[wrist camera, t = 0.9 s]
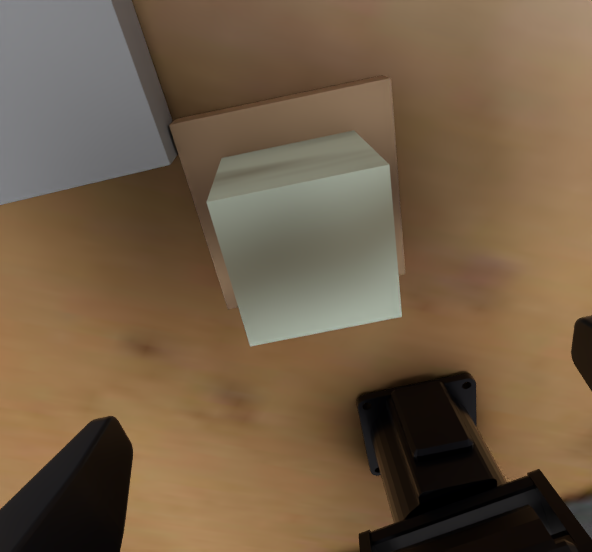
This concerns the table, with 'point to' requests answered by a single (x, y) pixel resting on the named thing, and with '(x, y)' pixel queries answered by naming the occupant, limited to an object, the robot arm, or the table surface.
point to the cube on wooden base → (300, 207)
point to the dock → (76, 97)
